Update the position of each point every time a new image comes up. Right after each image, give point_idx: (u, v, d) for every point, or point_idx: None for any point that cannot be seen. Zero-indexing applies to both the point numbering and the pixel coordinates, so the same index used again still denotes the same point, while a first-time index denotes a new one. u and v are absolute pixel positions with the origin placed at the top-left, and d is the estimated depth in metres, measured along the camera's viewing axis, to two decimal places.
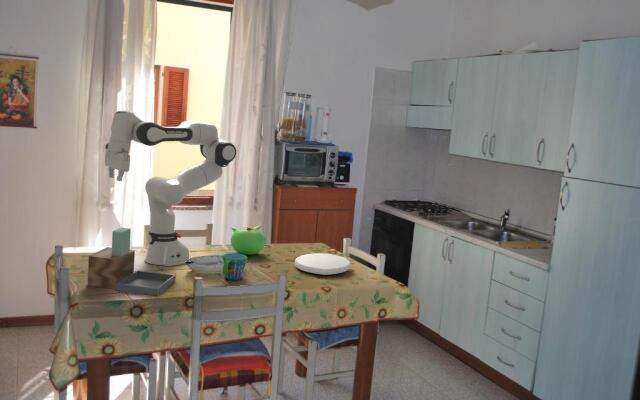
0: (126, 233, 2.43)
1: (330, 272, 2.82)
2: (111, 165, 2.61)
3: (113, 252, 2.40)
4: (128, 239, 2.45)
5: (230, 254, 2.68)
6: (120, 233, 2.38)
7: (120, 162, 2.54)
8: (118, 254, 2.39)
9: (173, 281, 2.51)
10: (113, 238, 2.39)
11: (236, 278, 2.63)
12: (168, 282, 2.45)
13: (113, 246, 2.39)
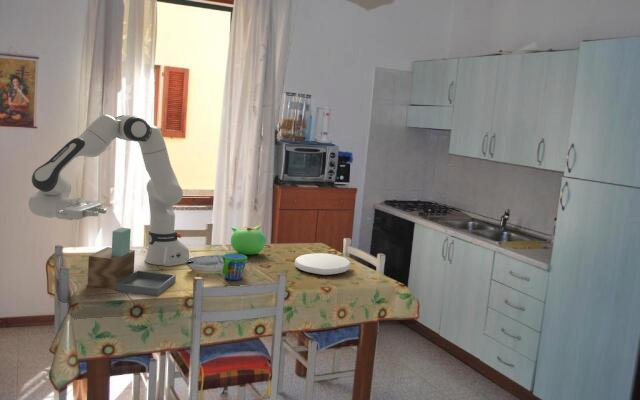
0: (126, 233, 2.43)
1: (330, 272, 2.82)
2: None
3: (113, 252, 2.40)
4: (128, 239, 2.45)
5: (230, 254, 2.68)
6: (120, 233, 2.38)
7: None
8: (118, 254, 2.39)
9: (173, 281, 2.51)
10: (113, 238, 2.39)
11: (236, 278, 2.63)
12: (168, 282, 2.45)
13: (113, 246, 2.39)
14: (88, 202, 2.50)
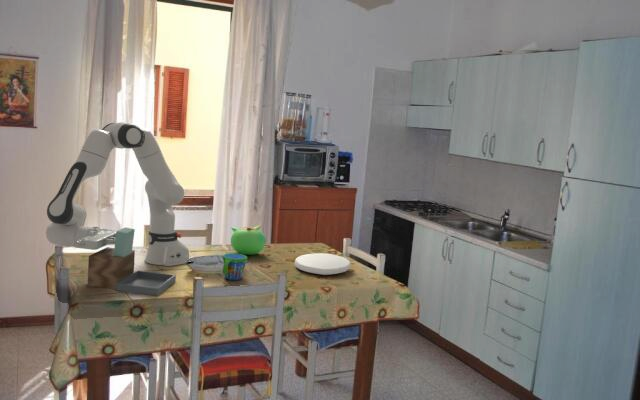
0: (130, 233, 2.42)
1: (330, 272, 2.82)
2: None
3: (115, 252, 2.39)
4: (131, 240, 2.45)
5: (230, 254, 2.68)
6: (124, 233, 2.38)
7: None
8: (120, 254, 2.39)
9: (173, 281, 2.51)
10: (116, 238, 2.39)
11: (236, 278, 2.63)
12: (168, 282, 2.45)
13: (116, 246, 2.39)
14: (105, 230, 2.51)
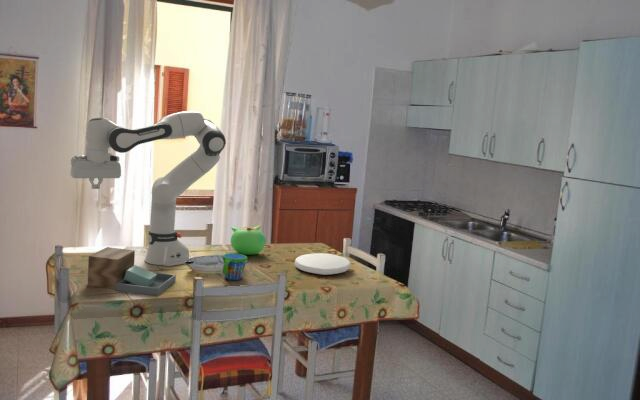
0: None
1: (330, 272, 2.82)
2: None
3: (129, 273, 2.40)
4: None
5: (230, 254, 2.68)
6: (146, 286, 2.40)
7: None
8: (126, 277, 2.40)
9: (173, 281, 2.51)
10: (142, 278, 2.40)
11: (236, 278, 2.63)
12: (168, 282, 2.45)
13: (135, 275, 2.40)
14: (116, 166, 2.57)
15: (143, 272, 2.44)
